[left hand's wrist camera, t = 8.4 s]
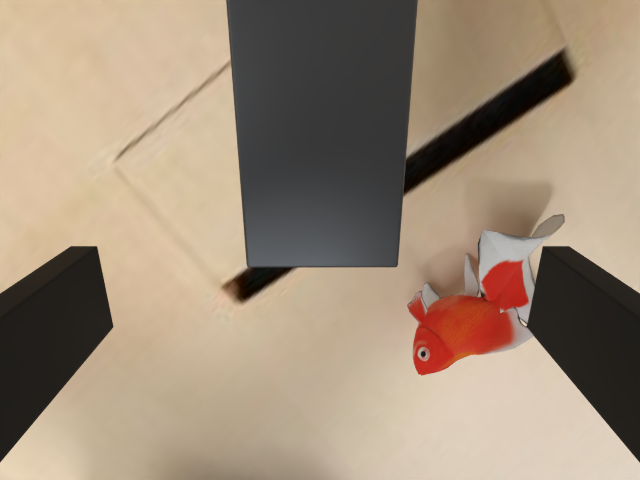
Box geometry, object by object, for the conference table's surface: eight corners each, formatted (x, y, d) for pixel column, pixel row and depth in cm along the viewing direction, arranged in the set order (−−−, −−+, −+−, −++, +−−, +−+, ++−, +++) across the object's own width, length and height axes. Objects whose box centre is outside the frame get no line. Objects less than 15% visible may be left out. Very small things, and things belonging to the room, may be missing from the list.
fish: (348, 278, 31) (448, 362, 24) (493, 159, 34) (622, 199, 27) (388, 353, 38) (476, 437, 30) (506, 247, 41) (612, 300, 34)
